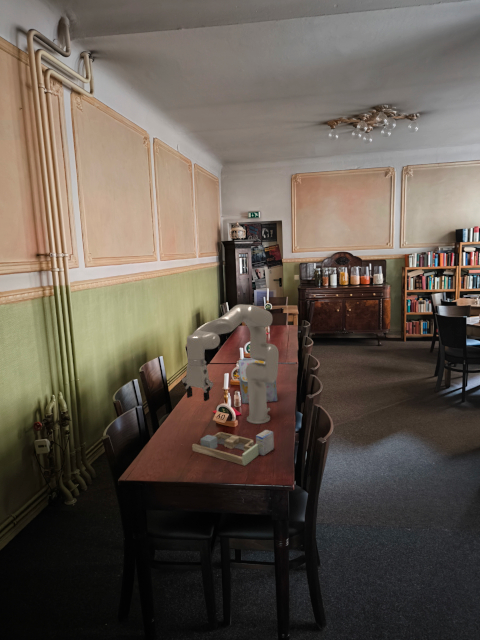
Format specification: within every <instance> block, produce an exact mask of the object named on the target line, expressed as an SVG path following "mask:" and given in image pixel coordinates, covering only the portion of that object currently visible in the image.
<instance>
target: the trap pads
mask: <svg viewBox="0 0 480 640" xmlns="http://www.w3.org/2000/svg"><path fill="white" fill-rule="evenodd" d="M224 441H225V440H224V439H219V440H218V441H217V445H218V444H219V445H222V446H224ZM244 446H245V445H244V444H240V443H239V444H238V445H236V446H235V447H233V449H237V450H240V451H244Z"/></svg>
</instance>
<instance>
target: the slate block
mask: <svg viewBox="0 0 480 640" xmlns="http://www.w3.org/2000/svg"><path fill="white" fill-rule="evenodd" d="M200 445H201V446H204V447H208V448H212V449H215V450H216V449H217V448H218V443H217V437H215V436H214V435H210V434H206V435H204V436H203V437H201V438H200Z"/></svg>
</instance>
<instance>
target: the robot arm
mask: <svg viewBox="0 0 480 640" xmlns="http://www.w3.org/2000/svg"><path fill="white" fill-rule="evenodd" d="M242 323H244V325H246V326H247V328H248V330H249V333H250V340H249V341H250V342H249V343H250V344H249V357H250V358H252V359H254V360H259V361H265V364H263V363H257V362H252V363H250V364H248V365H247V367H246V377H247V381H248V392H249V403H248V409H249V410H248V411H249V415H247V417H246V421H247V422H248V423H250V424H254V425H255V424H257V425H260V424H261V425H262V424H266V423H268V422H269V421H270V420H271V416H270V415H269V414H268V412H270V411H271V408H270V407H268V406H267V405H268V404H267V400H266V386H265V383H273V382H274V381H275V380H276V381H277V378H278V373H279V355H280V354H279V349H278V347H277V346H276V345H275V344H272V343H267V331H266V328H268V327H270V326H271V325H272V324H273V315H272V312H270V311H269V310H266V309H265V308H262V307H259V306H257V305H253V304H236V305H234V306H233V307H232V308H231V309H230V310H228V311H227V312H226V313H225V314H223V315H222V316H221V317H219V318H216V319H213V320H211V321H208V322H206V323H204V324H202V325H201V326H199V327H197V328H196V330H194V331H193V333H192V334H189V335H187V336H186V349H187V351H186V353H187V365H186V370H185V371H186V372H185V377H183V378H181V380H182V381H181V382H182V383H183V384H182V385H183V386H184V388H185V390H186V398H188V399H189V398H191V397H193V388H192V387H194V388H199V389H202V391H203V402H207V401H209V400H210V392H211V390H212V389H213V387H214V382H213V381H211V380H210V377H209V376H210V375H209V370H208V365H207V361H206V360H205V350H214V349H216V348H217V347H218V346H219V345H220V343H221V338H220V336H219V335H222V334H223V335H224V334H229V333H231V332H232V331H234V330H235V329H236V328H237V327H238V326H240V324H242ZM264 382H265V383H264Z"/></svg>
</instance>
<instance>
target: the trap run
mask: <svg viewBox="0 0 480 640" xmlns="http://www.w3.org/2000/svg"><path fill="white" fill-rule="evenodd" d="M213 436H215V437H217V441H218V440H219V439H224V440H225V441H224V445H223V446H224V448H226V447H227V448H228V449H230V450H232V449H234V447H235V446H236V445H238V444H239V443H240V444H244V445H245V446H244V450H243V453H244V452H246V451H247V450H248V449H250V448H251V447H252V446H254V445H255V442H254V441H255V440H254V439H251V438H247V437H244V436H241V435H240V436H239V435H235V434H231V433H226V432H223V431H220V432H217V433H215V434H214V435H213ZM191 448H192V451H193V452H196V453H200V454H203V455H206V456H209V457H214V458H216V459H221V460H224V461H228V462H231V463H234V464H237V465H241V466H244V465H243V462H242V455H241V456H239V455H236V454H233V453H231V452H230V453H229V452H225V451H222V450H218V449H216V448H215V449H212V448H208V447H204V446H201V444H197V443H193V444H192V446H191ZM227 448H226V449H227Z"/></svg>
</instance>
